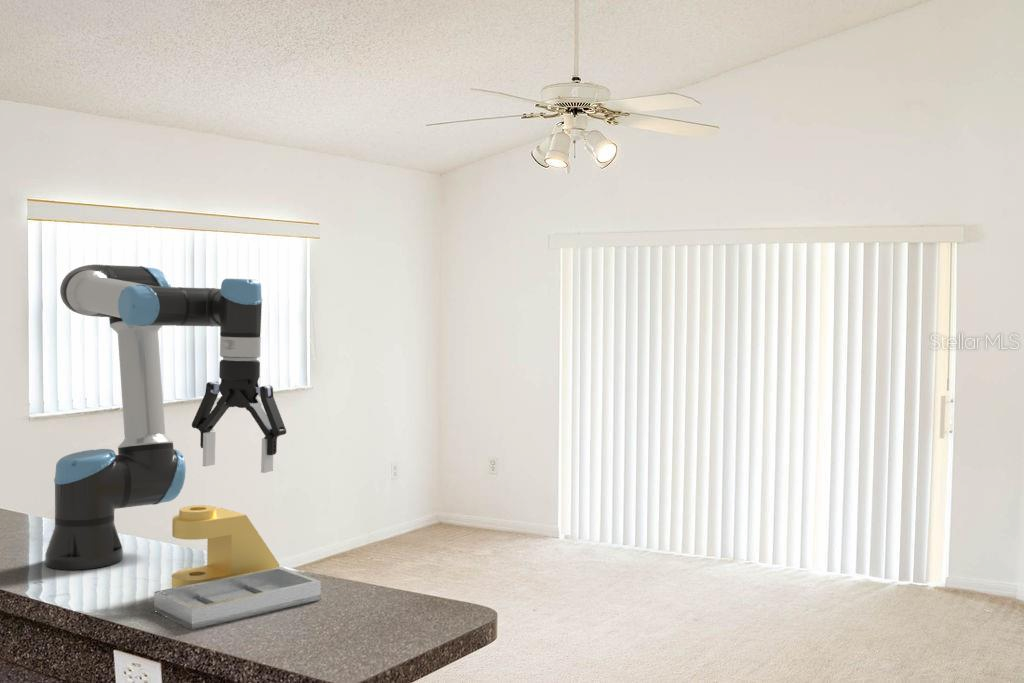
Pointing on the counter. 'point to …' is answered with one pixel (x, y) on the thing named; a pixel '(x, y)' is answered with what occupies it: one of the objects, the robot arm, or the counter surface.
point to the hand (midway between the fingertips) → (237, 468)
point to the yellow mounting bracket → (220, 544)
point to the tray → (236, 597)
